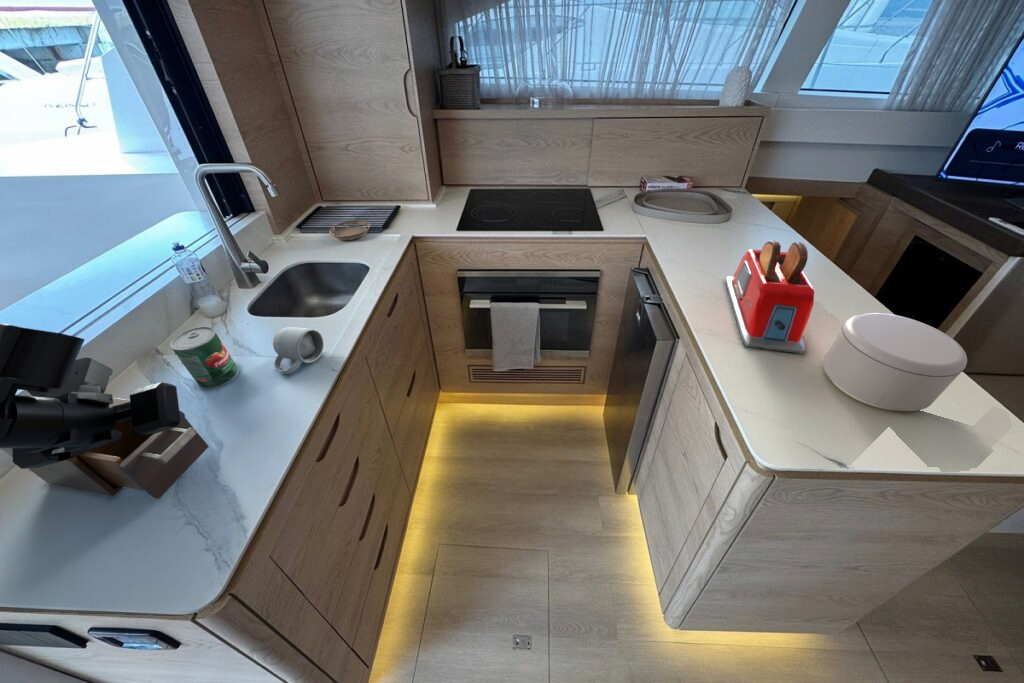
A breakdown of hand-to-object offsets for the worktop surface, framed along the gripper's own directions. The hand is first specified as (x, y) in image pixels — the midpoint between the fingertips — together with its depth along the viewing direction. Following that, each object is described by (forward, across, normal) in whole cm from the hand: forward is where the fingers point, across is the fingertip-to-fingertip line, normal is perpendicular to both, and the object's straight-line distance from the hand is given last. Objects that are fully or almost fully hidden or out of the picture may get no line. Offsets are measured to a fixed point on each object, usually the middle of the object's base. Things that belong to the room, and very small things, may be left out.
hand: (152, 426), depth 60 cm
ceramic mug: (+27, -12, -13) cm, 32 cm away
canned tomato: (+25, +5, -14) cm, 29 cm away
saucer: (+72, -20, -70) cm, 103 cm away
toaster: (+29, -123, +8) cm, 127 cm away
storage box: (+12, +17, +1) cm, 21 cm away
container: (+13, -126, +30) cm, 130 cm away
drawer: (+9, +6, +5) cm, 12 cm away
